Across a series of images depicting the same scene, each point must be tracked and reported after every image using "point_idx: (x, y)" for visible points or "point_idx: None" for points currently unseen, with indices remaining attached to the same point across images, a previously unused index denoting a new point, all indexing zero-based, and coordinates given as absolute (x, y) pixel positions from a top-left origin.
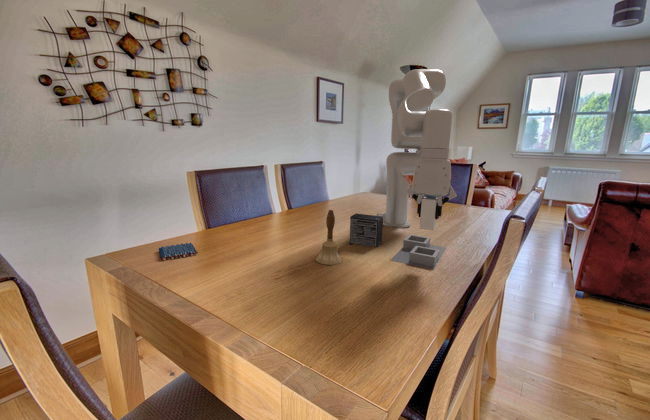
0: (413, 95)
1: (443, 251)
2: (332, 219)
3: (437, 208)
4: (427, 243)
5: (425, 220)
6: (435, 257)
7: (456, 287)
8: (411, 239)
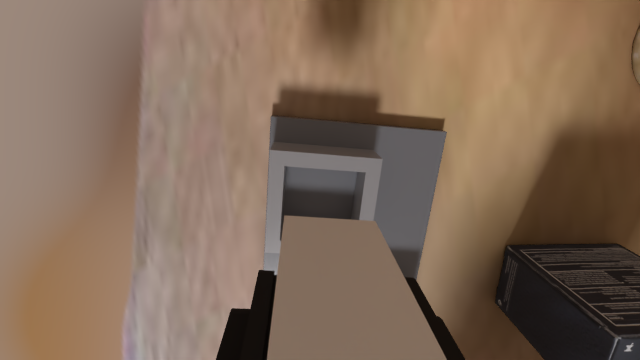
0: None
1: None
2: None
3: (249, 344)
4: None
5: (349, 250)
6: (269, 157)
7: (170, 2)
8: None
